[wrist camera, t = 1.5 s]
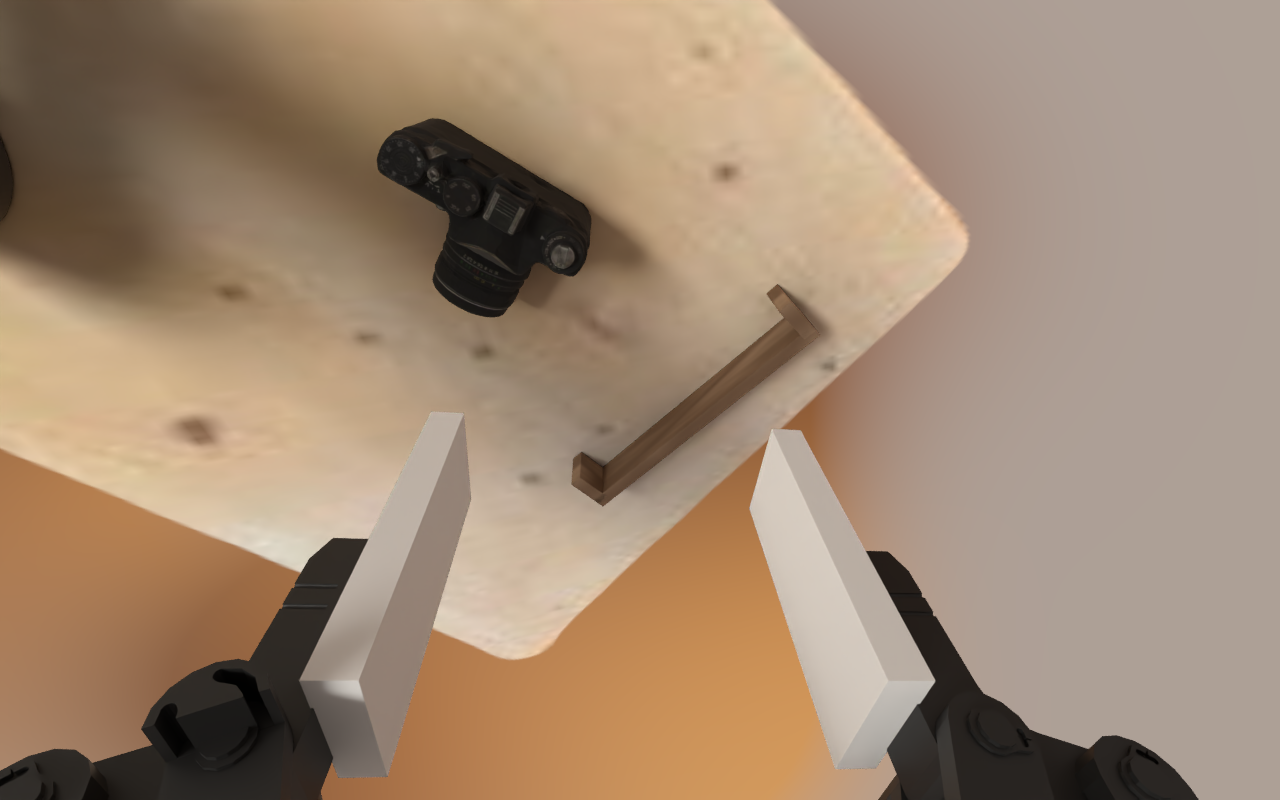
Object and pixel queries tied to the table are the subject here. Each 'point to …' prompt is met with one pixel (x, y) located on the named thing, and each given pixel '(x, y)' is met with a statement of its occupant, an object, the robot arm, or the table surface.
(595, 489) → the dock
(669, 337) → the table surface
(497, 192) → the camera
